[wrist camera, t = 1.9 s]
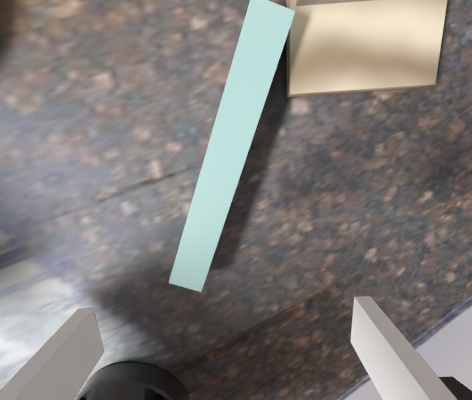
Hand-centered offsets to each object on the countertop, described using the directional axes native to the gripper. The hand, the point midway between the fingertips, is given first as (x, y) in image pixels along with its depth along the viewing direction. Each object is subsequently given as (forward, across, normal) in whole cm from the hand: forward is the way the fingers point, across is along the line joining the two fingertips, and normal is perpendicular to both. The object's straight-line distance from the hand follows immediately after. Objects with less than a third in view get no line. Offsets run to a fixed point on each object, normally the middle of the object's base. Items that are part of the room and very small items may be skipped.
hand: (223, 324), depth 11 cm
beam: (+15, 0, -7) cm, 16 cm away
